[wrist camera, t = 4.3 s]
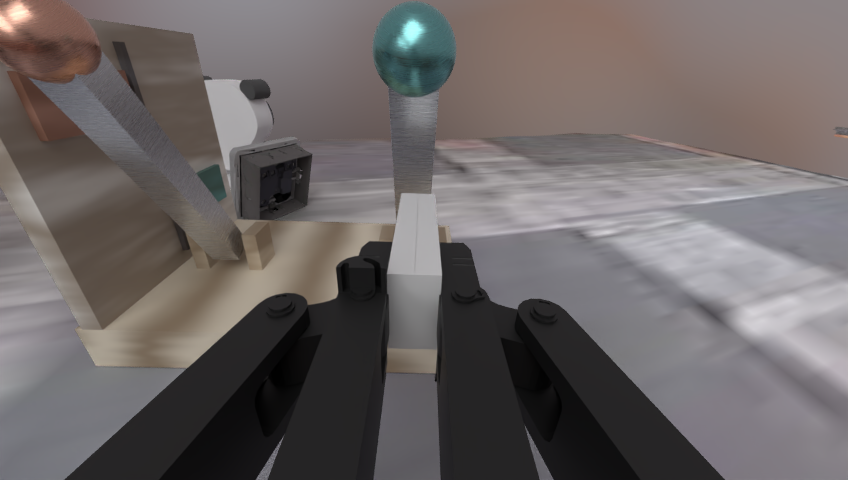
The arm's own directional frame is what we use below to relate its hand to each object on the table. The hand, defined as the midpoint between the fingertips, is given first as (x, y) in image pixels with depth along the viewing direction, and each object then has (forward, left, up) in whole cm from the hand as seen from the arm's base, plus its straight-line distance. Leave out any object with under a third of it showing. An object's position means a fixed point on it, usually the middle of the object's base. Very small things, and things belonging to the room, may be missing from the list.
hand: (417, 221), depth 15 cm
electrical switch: (-18, +26, -11) cm, 33 cm away
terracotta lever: (-14, +9, -7) cm, 18 cm away
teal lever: (0, +9, -7) cm, 12 cm away
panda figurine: (-29, +40, -11) cm, 51 cm away
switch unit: (-8, +9, -11) cm, 16 cm away
